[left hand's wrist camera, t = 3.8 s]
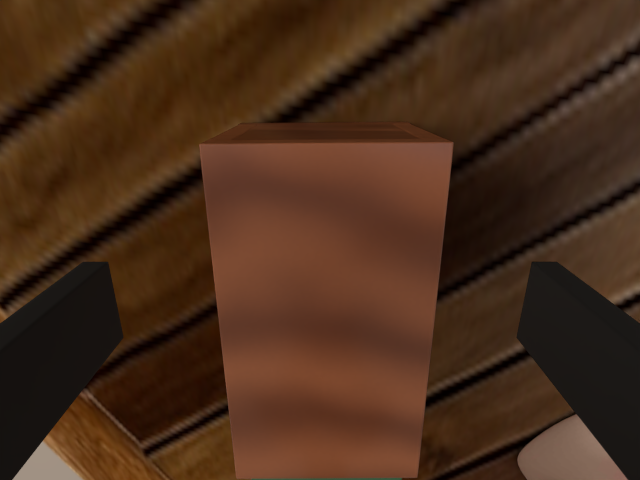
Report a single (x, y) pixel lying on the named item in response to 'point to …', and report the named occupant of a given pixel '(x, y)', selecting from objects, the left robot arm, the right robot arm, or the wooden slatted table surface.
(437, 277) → the cabinet
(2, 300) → the wooden slatted table surface
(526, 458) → the anatomical model
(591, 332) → the left robot arm
